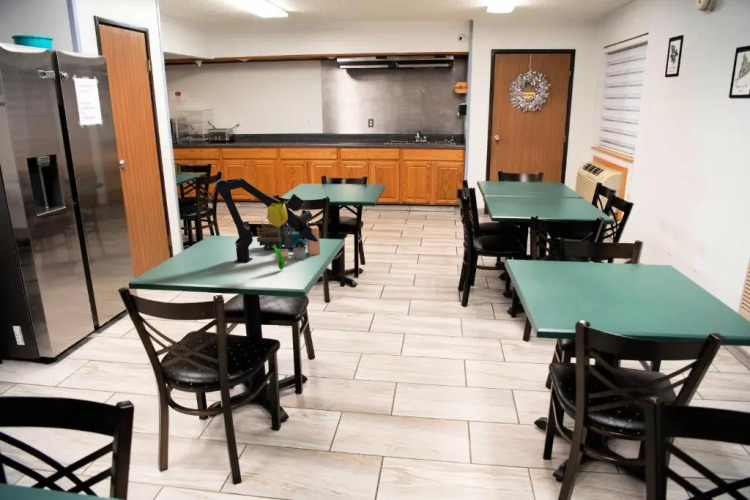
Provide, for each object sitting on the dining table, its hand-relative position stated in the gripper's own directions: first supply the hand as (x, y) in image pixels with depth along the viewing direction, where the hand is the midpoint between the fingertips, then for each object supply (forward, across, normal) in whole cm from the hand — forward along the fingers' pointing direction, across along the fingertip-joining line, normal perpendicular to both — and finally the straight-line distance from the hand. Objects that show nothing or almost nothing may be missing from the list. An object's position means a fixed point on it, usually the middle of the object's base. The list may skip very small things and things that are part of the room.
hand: (315, 239), depth 257 cm
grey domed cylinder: (-1, -6, +11) cm, 13 cm away
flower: (-9, -23, +19) cm, 31 cm away
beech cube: (-7, -5, +17) cm, 19 cm away
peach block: (+4, 0, +6) cm, 7 cm away
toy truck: (-4, +15, +15) cm, 22 cm away
